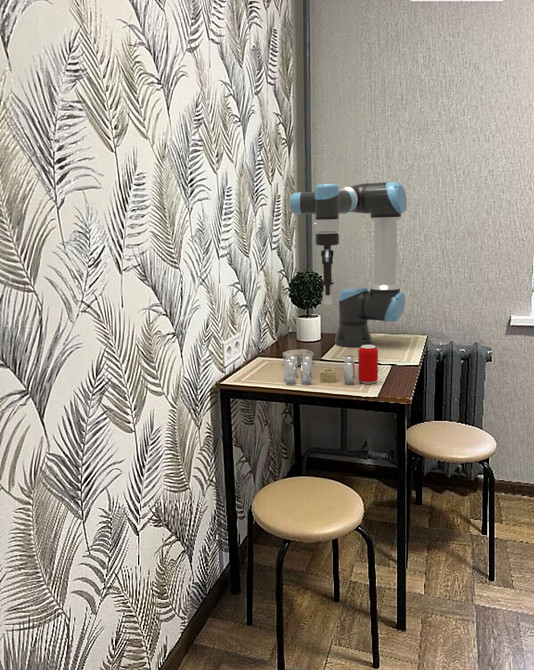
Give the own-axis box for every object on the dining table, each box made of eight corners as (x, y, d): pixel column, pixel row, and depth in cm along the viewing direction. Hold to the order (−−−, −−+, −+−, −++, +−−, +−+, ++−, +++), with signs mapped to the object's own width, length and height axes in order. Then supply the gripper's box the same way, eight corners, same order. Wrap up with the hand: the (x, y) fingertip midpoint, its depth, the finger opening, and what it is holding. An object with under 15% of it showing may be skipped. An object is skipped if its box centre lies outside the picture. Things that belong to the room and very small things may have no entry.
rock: (282, 368, 221) (282, 353, 220) (284, 361, 232) (283, 346, 231) (313, 368, 220) (313, 352, 219) (313, 360, 231) (313, 345, 230)
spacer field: (285, 375, 211) (285, 355, 210) (369, 375, 208) (369, 355, 206) (282, 384, 201) (282, 363, 199) (370, 385, 197) (370, 363, 196)
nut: (321, 378, 207) (320, 368, 206) (336, 378, 206) (335, 368, 206) (320, 382, 202) (319, 372, 201) (335, 382, 201) (335, 372, 201)
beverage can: (357, 379, 204) (357, 344, 201) (376, 379, 203) (376, 343, 201) (359, 384, 198) (359, 348, 195) (379, 384, 197) (379, 348, 195)
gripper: (316, 232, 207) (317, 301, 212) (314, 234, 194) (315, 307, 199) (339, 231, 206) (339, 301, 211) (338, 233, 193) (339, 307, 198)
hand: (327, 304), depth 205 cm, fingers closed
